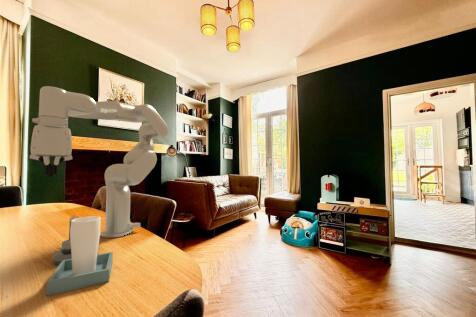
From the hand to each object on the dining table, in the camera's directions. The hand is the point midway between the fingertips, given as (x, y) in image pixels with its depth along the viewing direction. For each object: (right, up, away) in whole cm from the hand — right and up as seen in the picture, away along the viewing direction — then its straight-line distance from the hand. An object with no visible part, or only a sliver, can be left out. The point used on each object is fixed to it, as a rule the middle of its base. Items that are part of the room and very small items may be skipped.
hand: (51, 176), depth 68 cm
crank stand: (+7, -27, 0) cm, 28 cm away
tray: (+22, -27, -13) cm, 37 cm away
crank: (+7, -24, 0) cm, 25 cm away
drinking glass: (+21, -26, -13) cm, 36 cm away
